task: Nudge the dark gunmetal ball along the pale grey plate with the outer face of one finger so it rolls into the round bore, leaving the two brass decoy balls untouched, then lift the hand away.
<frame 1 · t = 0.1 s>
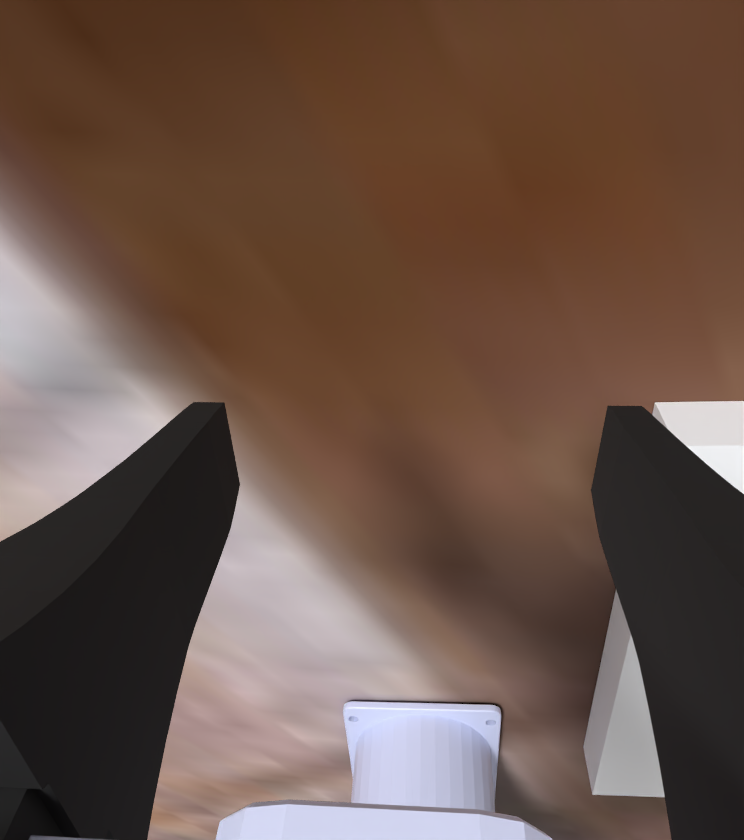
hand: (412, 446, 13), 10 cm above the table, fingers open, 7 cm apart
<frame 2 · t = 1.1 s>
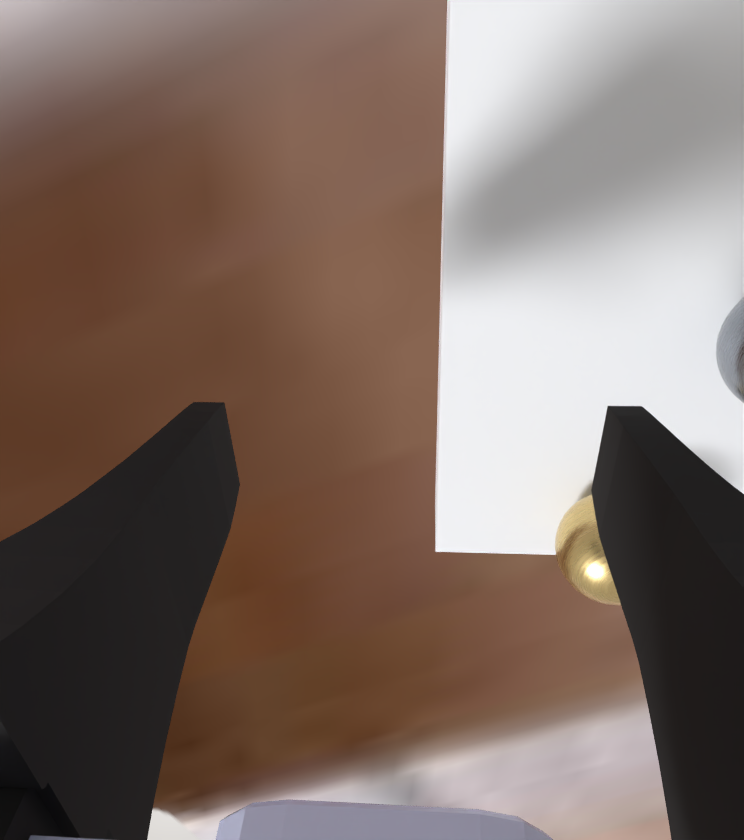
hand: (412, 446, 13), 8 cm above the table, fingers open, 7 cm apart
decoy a: (612, 547, 20), point 4 cm above the table, touching plate
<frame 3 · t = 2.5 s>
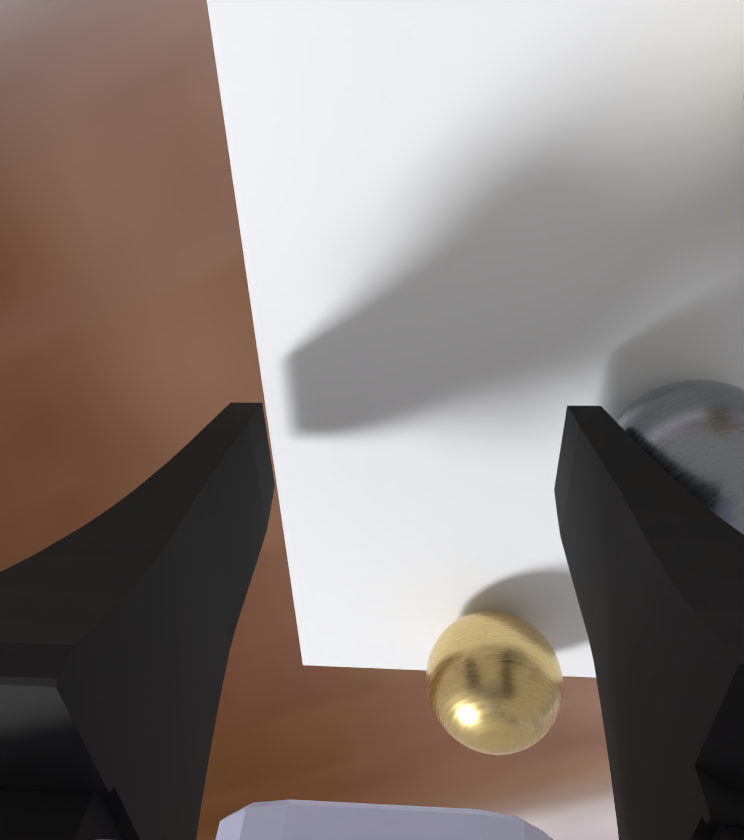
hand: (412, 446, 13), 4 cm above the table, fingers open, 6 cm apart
ball: (696, 468, 12), point 4 cm above the table, tilted 6°, touching gripper, plate
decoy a: (493, 680, 16), point 4 cm above the table, touching plate
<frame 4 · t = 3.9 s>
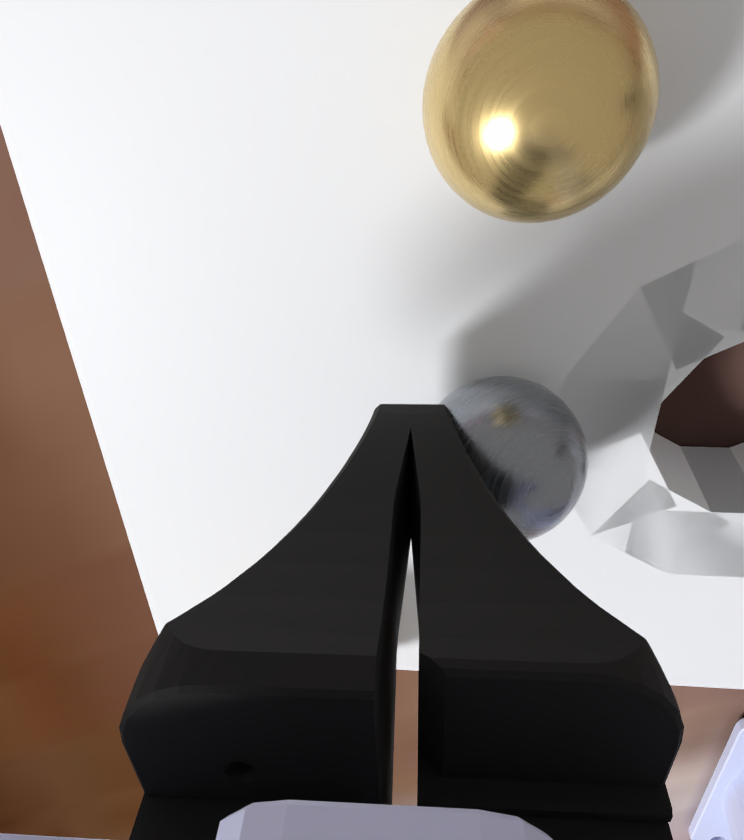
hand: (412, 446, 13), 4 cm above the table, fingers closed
ball: (500, 459, 13), point 4 cm above the table, tilted 36°, touching gripper, plate
plate: (575, 366, 17), on the table
decoy b: (536, 104, 10), point 4 cm above the table, touching plate
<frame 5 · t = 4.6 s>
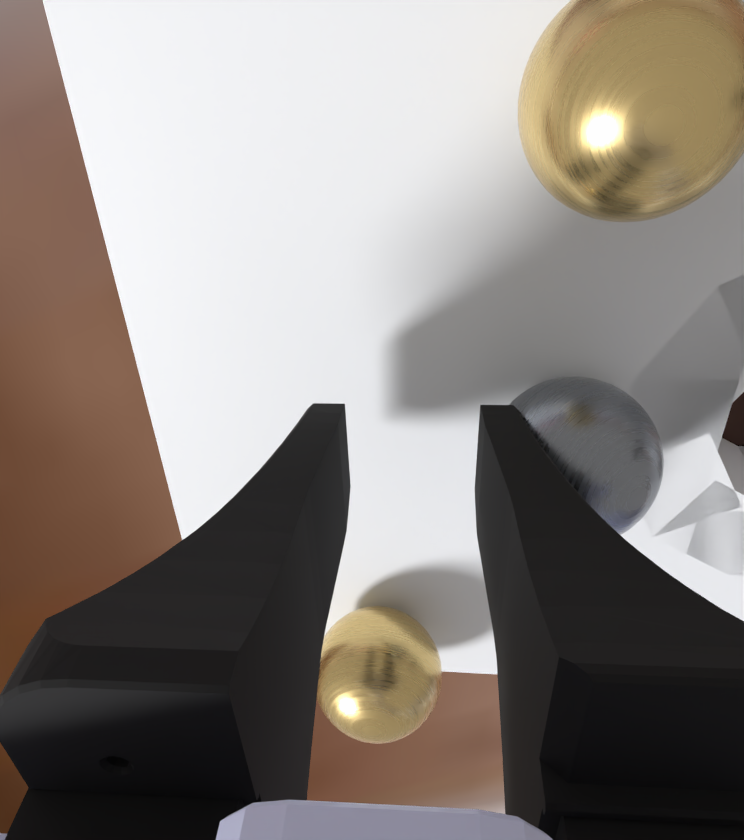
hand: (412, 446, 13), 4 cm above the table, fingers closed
ball: (572, 460, 13), point 4 cm above the table, tilted 35°, touching gripper, plate
plate: (634, 366, 16), on the table
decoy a: (377, 672, 17), point 4 cm above the table, touching plate
decoy b: (635, 102, 10), point 4 cm above the table, touching plate
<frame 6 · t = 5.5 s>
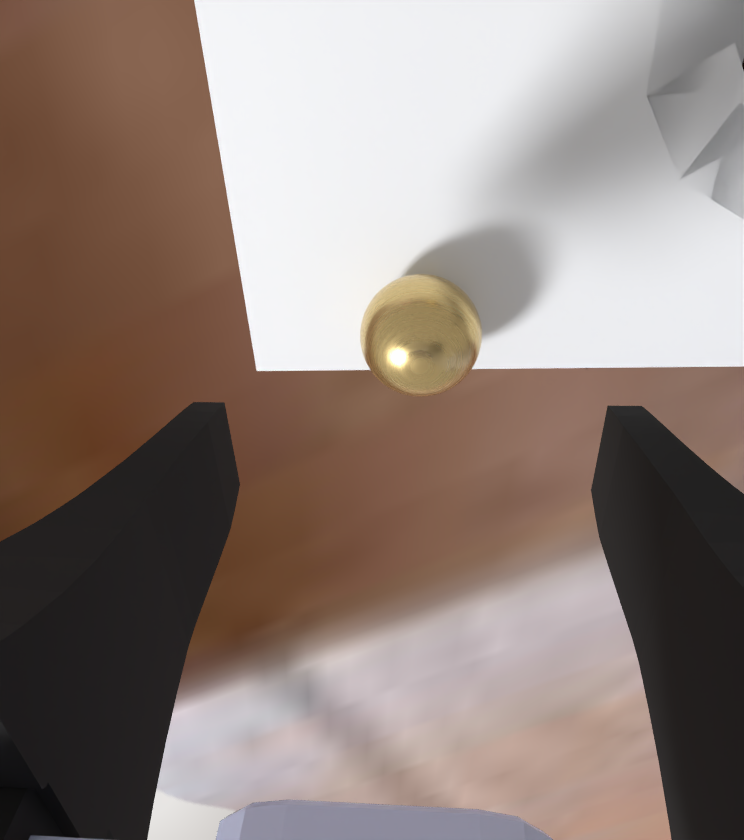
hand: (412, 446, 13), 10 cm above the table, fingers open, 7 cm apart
plate: (659, 24, 17), on the table
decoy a: (420, 335, 18), point 4 cm above the table, touching plate
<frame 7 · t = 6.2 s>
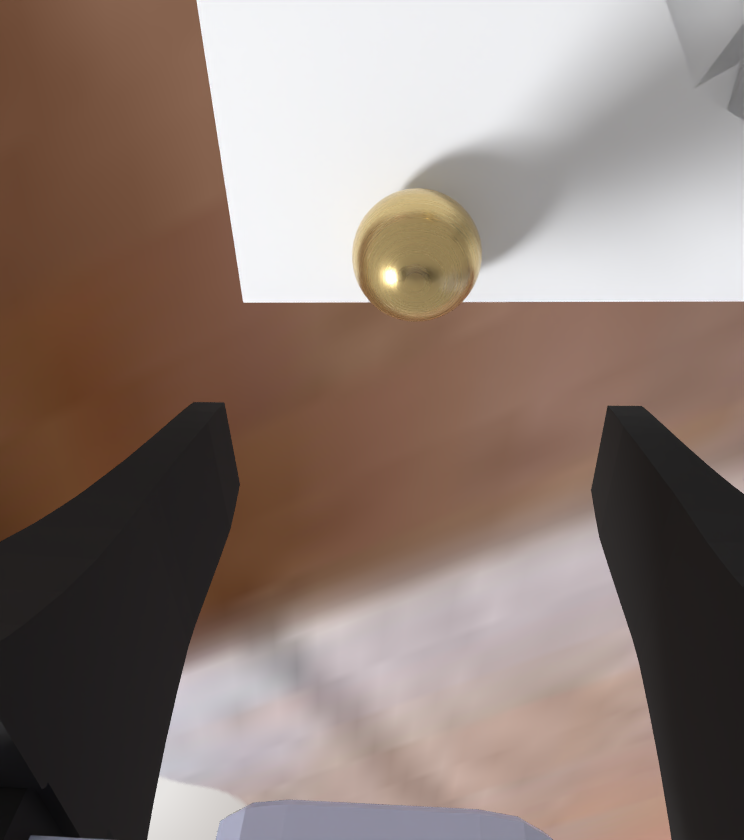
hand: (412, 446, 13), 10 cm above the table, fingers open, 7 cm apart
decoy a: (416, 256, 17), point 4 cm above the table, touching plate
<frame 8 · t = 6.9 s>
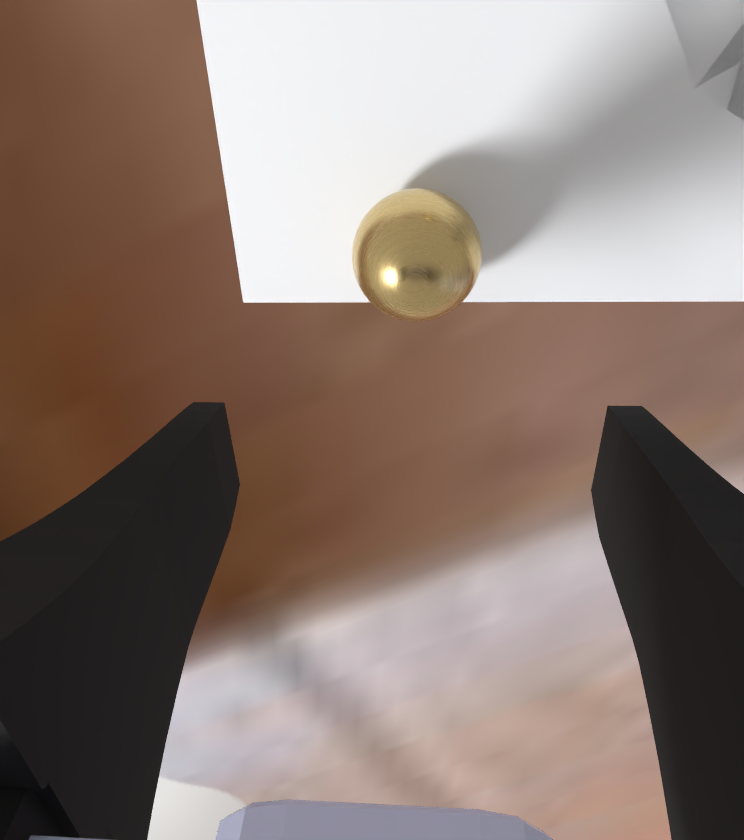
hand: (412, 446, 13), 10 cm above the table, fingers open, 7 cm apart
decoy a: (416, 256, 17), point 4 cm above the table, touching plate
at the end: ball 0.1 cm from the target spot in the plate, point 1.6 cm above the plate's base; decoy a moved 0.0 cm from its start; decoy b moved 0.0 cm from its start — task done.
